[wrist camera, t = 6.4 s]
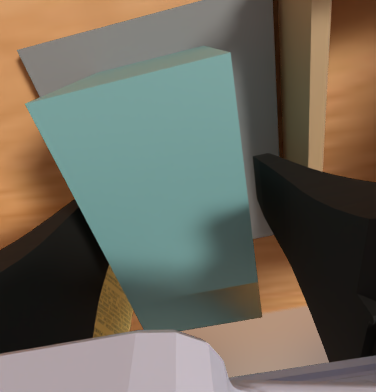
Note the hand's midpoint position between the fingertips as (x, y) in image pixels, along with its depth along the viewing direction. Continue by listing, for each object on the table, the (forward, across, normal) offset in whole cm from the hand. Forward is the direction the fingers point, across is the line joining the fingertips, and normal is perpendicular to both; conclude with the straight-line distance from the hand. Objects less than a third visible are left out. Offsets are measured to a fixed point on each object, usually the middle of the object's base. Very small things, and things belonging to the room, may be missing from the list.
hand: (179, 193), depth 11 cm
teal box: (+2, 0, -1) cm, 2 cm away
